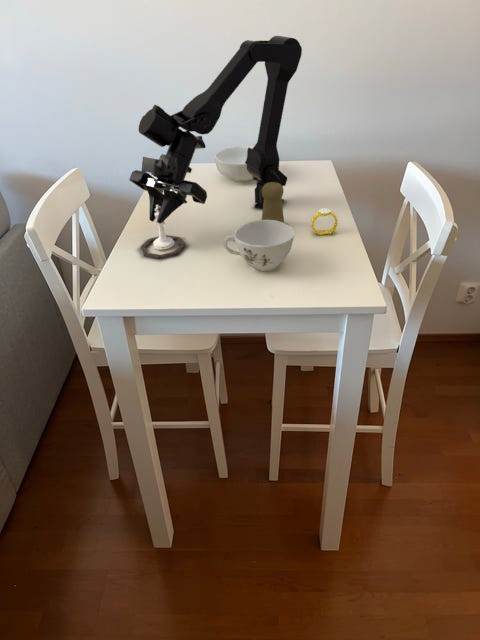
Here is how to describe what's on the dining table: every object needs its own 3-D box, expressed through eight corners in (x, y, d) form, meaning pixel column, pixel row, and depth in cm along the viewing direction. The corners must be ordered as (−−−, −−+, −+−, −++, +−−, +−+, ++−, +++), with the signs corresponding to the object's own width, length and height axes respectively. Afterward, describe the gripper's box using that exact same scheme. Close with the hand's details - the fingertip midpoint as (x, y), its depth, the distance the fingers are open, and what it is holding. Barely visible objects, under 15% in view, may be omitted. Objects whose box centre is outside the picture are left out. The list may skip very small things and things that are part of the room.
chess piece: (178, 242, 111) (172, 202, 105) (165, 251, 108) (158, 211, 102) (162, 237, 113) (155, 198, 107) (149, 246, 110) (141, 207, 104)
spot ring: (191, 241, 113) (190, 238, 113) (171, 261, 106) (171, 259, 105) (155, 235, 116) (154, 233, 116) (133, 254, 109) (133, 252, 109)
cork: (288, 223, 118) (289, 181, 111) (279, 233, 114) (279, 190, 107) (266, 219, 120) (265, 178, 113) (256, 229, 116) (255, 187, 109)
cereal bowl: (271, 186, 137) (271, 162, 133) (215, 188, 138) (213, 165, 133) (269, 166, 150) (269, 143, 146) (218, 168, 151) (216, 146, 147)
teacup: (294, 250, 107) (295, 218, 102) (292, 280, 97) (293, 246, 92) (230, 249, 109) (227, 217, 104) (221, 278, 99) (218, 245, 94)
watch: (335, 230, 114) (337, 207, 110) (337, 235, 112) (339, 212, 108) (310, 231, 114) (311, 208, 110) (312, 236, 112) (313, 213, 108)
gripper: (126, 134, 103) (101, 200, 103) (192, 145, 94) (166, 217, 94) (155, 158, 113) (133, 218, 113) (218, 170, 104) (194, 235, 104)
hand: (154, 221), depth 106 cm, fingers closed on chess piece, 2 cm apart
